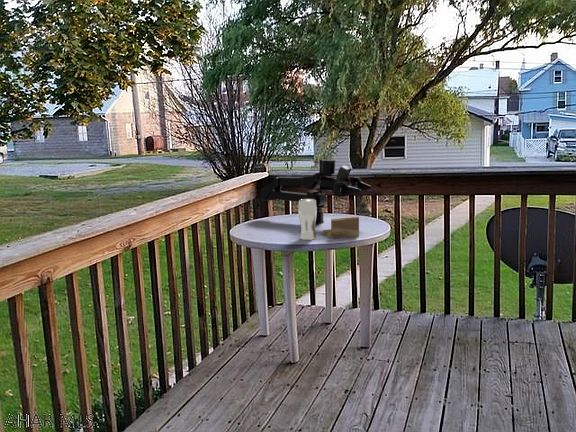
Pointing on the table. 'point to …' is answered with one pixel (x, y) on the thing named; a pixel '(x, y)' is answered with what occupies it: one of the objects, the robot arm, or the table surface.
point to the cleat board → (343, 228)
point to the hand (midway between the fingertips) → (366, 189)
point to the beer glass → (307, 218)
